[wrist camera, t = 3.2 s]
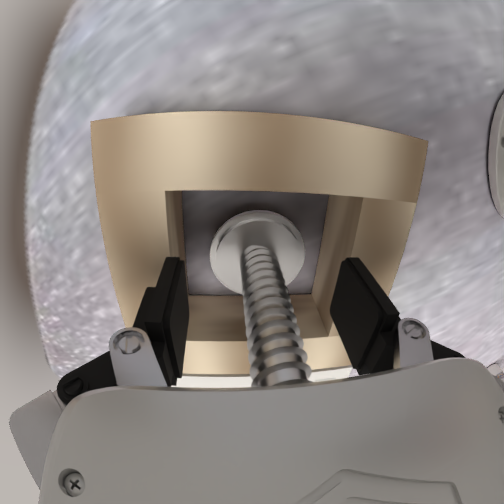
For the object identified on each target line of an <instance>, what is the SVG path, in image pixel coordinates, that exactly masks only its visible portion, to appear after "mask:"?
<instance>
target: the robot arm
mask: <svg viewBox="0 0 504 504" xmlns="http://www.w3.org/2000/svg"><path fill="white" fill-rule="evenodd" d="M488 171H489V182H490V188H491V194H492V198H493V201H494V204H495V207H496V209H497V211H498V213H499V214H500V215H501V216H502V217H503V218H504V93H503V95H502V97H501V98H500V100H499V102H498V105H497V107H496V110H495V113H494V117H493V121H492V126H491V133H490V139H489V154H488ZM399 314H400V313H399V312H398V310H397V309H396V307H395V306H394V305H393V303H392V302H391V300H390V299H389V297H388V296H387V295H386V293H385V292H384V290H383V289H382V288H381V286H380V285H379V284H378V282H377V281H376V279H375V278H374V277H373V275H372V274H371V273H370V271H369V270H368V269H367V267H366V266H365V265H364V263H363V262H362V261H361V260H360V258H358V257H347V258H346V259H345V261H342V262H341V265H340V270H339V274H338V278H337V282H336V286H335V290H334V294H333V298H332V301H331V305H330V315H331V318H332V320H333V322H334V324H335V327H336V329H337V331H338V334H339V336H340V338H341V341H342V343H343V345H344V348H345V350H346V353H347V355H348V357H349V360H350V362H351V365H352V367H353V368H354V369H357V372H358V374H359V375H361V376H355V377H349V378H343V379H336V380H328V381H321V382H312V383H303V384H292V385H280V386H264V387H240V388H190V387H171V386H176V385H177V378H182V373H183V364H184V355H185V347H186V339H187V331H188V324H189V302H188V293H187V282H186V271H185V262H184V260H180V257H166V258H165V261H164V264H163V267H162V270H161V272H160V275H159V278H158V281H157V284H156V287H147V288H146V290H145V293H144V296H143V298H142V301H141V304H140V307H139V309H138V312H137V315H136V318H135V321H134V324H133V327H129V328H124V329H121V330H119V331H117V332H116V333H114V334H113V336H112V337H111V338H110V341H109V350H110V351H108V352H106V353H105V354H103V355H101V356H99V357H97V358H95V359H94V360H92V361H90V362H88V363H86V364H84V365H83V366H81V367H79V368H77V369H75V370H73V371H71V372H70V373H68V374H66V375H65V376H63V377H62V378H61V380H60V381H59V383H58V385H57V390H56V391H54V392H52V391H51V390H49V391H47V392H46V393H44V394H42V395H41V396H39V397H37V398H36V399H34V400H32V401H31V402H29V403H27V404H25V405H24V406H22V407H20V408H18V409H17V410H16V411H15V412H13V414H12V415H11V417H10V422H9V425H10V429H11V432H12V434H13V436H14V439H15V441H16V444H17V446H18V448H19V451H20V453H21V455H22V457H23V459H24V461H25V463H26V465H27V467H28V469H29V471H30V473H31V475H32V477H33V478H34V480H35V482H36V484H37V485H38V487H39V489H40V496H39V504H504V382H503V381H502V380H501V379H500V378H498V377H496V376H494V375H492V374H491V373H490V372H489V370H488V369H487V368H486V367H485V366H484V365H483V364H482V363H480V362H479V361H476V360H473V359H469V358H465V357H464V356H463V355H462V354H460V353H458V352H456V351H454V350H451V349H449V348H447V347H445V346H443V345H440V344H438V343H436V342H434V341H432V340H430V335H429V331H428V328H427V327H426V326H425V325H424V324H423V323H422V322H420V321H419V320H417V319H413V318H404V319H402V320H401V319H400V317H399ZM364 374H367V375H364Z"/></svg>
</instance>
